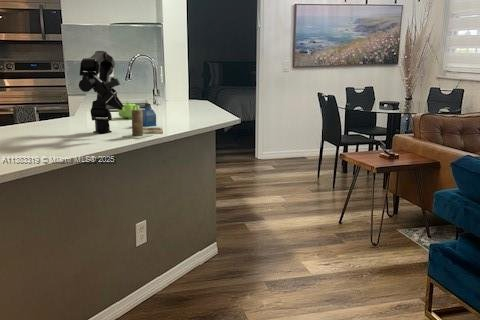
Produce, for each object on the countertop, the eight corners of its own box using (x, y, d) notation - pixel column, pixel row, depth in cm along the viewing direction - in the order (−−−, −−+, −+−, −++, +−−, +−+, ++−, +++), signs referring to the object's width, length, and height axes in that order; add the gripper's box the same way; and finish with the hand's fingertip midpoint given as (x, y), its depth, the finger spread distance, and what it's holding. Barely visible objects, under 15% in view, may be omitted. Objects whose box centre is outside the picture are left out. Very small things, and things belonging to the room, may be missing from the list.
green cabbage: (116, 117, 276) (115, 101, 274) (135, 116, 282) (134, 100, 279) (121, 120, 266) (120, 103, 264) (140, 119, 271) (140, 102, 269)
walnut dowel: (129, 135, 218) (129, 110, 215) (136, 134, 222) (136, 109, 219) (138, 136, 215) (137, 111, 213) (144, 135, 220) (144, 110, 217)
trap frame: (140, 133, 225) (140, 131, 225) (140, 129, 236) (140, 127, 235) (162, 133, 227) (162, 131, 227) (162, 129, 238) (162, 127, 237)
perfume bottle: (149, 124, 253) (149, 102, 251) (156, 125, 249) (155, 103, 246) (140, 125, 249) (139, 103, 246) (146, 127, 245) (145, 104, 242)
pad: (122, 136, 217) (122, 135, 217) (136, 133, 225) (136, 132, 225) (138, 139, 212) (138, 138, 212) (152, 135, 221) (152, 134, 221)
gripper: (107, 73, 200) (133, 98, 205) (110, 70, 218) (134, 94, 223) (89, 91, 201) (116, 115, 205) (94, 87, 218) (119, 110, 223)
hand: (122, 108), depth 214 cm, fingers open, 9 cm apart
